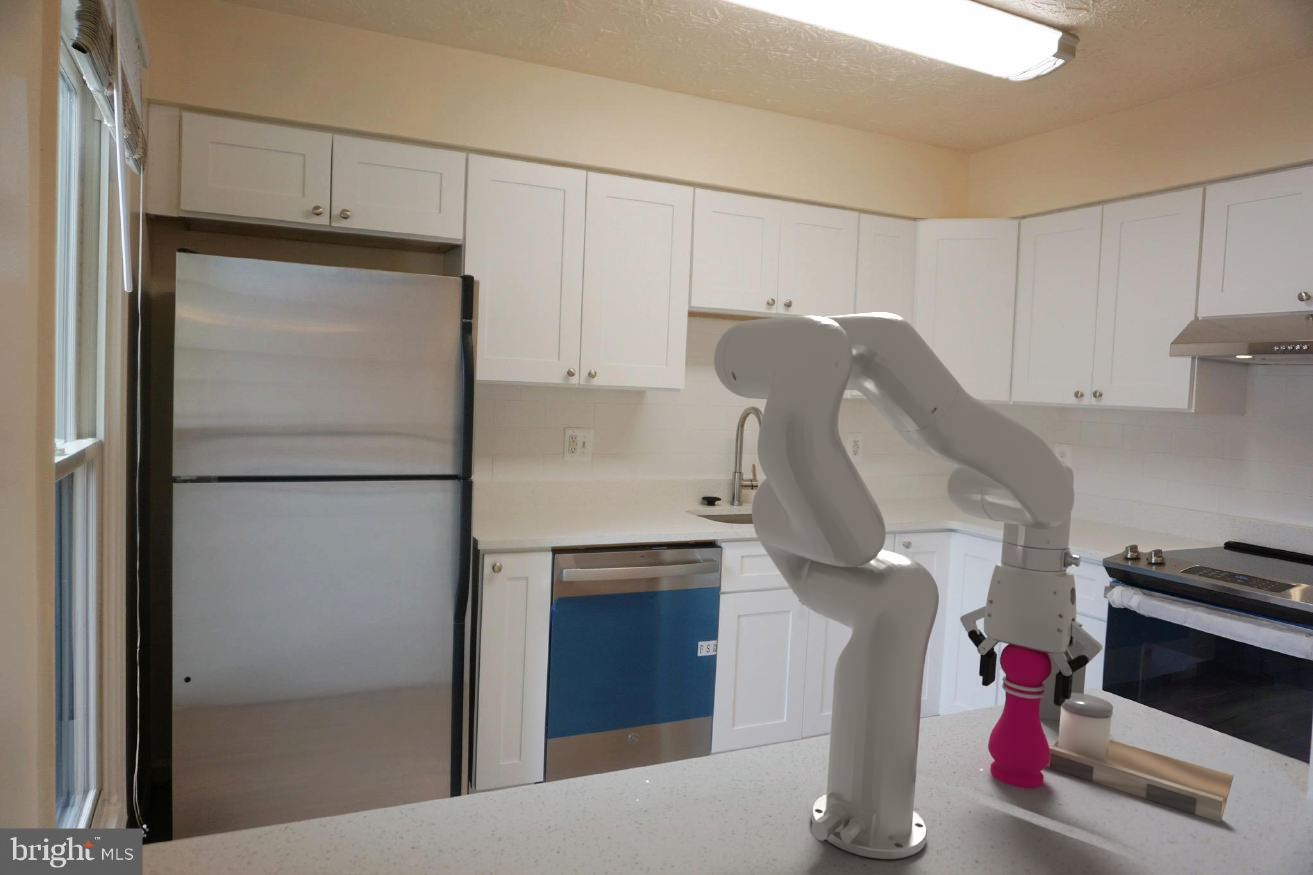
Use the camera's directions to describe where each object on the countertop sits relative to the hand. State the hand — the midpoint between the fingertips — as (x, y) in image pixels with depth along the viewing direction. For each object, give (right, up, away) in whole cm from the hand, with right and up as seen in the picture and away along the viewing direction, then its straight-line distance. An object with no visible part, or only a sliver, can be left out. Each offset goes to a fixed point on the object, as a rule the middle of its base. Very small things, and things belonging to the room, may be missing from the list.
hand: (1023, 692), depth 101 cm
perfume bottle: (+15, -12, +23) cm, 30 cm away
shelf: (+17, -13, +4) cm, 21 cm away
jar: (+11, -11, +7) cm, 17 cm away
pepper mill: (-1, -12, +1) cm, 12 cm away
